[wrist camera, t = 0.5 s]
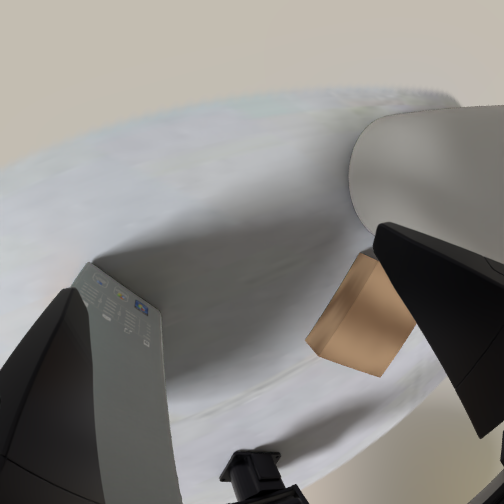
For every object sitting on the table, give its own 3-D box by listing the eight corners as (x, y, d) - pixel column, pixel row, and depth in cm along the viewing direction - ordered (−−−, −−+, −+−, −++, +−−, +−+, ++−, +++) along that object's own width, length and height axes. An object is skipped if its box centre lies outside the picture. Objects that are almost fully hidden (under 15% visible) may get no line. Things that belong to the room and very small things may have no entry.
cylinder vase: (436, 131, 28) (644, 151, 4) (427, 240, 31) (622, 323, 8) (347, 103, 24) (642, 77, 1) (337, 239, 27) (610, 381, 4)
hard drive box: (87, 256, 21) (-22, 485, 3) (163, 311, 24) (211, 556, 6) (20, 376, 22) (-30, 548, 3) (83, 415, 25) (77, 591, 6)
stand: (365, 364, 33) (380, 377, 30) (304, 340, 29) (318, 356, 26) (412, 291, 32) (429, 300, 29) (359, 252, 28) (378, 261, 26)
